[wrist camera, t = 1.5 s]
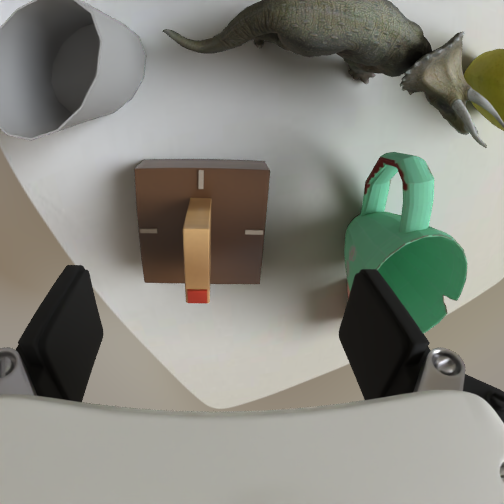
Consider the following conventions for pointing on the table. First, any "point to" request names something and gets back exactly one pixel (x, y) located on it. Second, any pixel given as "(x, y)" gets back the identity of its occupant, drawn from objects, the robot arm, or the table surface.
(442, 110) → the toy dinosaur
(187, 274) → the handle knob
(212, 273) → the walnut panel
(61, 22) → the cup
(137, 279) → the table surface
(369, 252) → the mug
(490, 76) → the apple
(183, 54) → the table surface
